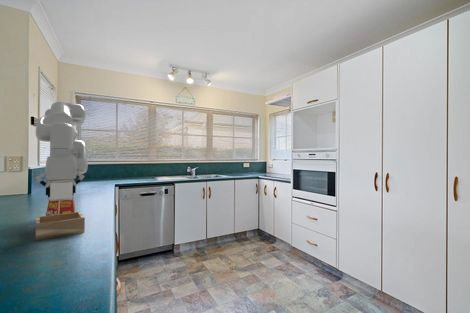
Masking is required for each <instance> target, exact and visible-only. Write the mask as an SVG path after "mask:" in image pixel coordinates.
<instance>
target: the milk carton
mask: <svg viewBox="0 0 470 313" xmlns="http://www.w3.org/2000/svg"><path fill="white" fill-rule="evenodd" d="M74 195H75V194H74ZM74 195H73V197H72V199H70V200H59V201H50V199H49V202H48V201H47V207H46V211H45V215H46V216H50V215H58V214H66V213H74V212H77V211H76V204H75V202H76V200H75V197H74Z"/></svg>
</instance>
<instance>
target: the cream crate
mask: <svg viewBox="0 0 470 313" xmlns="http://www.w3.org/2000/svg"><path fill="white" fill-rule="evenodd" d="M72 197H73V182H71V181H52V182H51V183H50V201H59V200H70V199H72Z"/></svg>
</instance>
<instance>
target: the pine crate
mask: <svg viewBox="0 0 470 313" xmlns="http://www.w3.org/2000/svg"><path fill="white" fill-rule="evenodd" d="M85 220H86V218H85V215H83V213H82V212H81V211H76V212H74V213H66V214H58V215H50V216H45V215H44V216H36V219H35V242H37V241H44V240H49V239H55V238H60V237H66V236H72V235H78V234H84V233H86V232H85V223H86V222H85Z"/></svg>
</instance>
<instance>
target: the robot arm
mask: <svg viewBox="0 0 470 313" xmlns="http://www.w3.org/2000/svg"><path fill="white" fill-rule="evenodd" d="M85 118H86V109H85V107H84V106H83V105H81V104H79V103H72V102H66V101H56V102H53V103H52V104H51V105H50V108H49V109H46V110H45V112H44V115H43V116H41V117H39V119H38V120H37V121H36V125H35V136H36V138H37V140H39V141H40V142H49V156H47V157H46V161H45V169H44V170H45V171H43V172H42V173H40V174H39V175H37V176H36V177H35V179H34V180H36V181H37V182H38V184H39V183H40V184H41V185H42V186H43V187H45V196H47V203H48V202H49V199H50V183H51V182H52V181H71V182H73V195H75V194H76V192H77V191H76V190H77V189H76V186H77V185H79V183H81V181H82V180H83V179H84V178H85V175H84V174H85V173H87V171H88V166H89V164H88V148H87V144H86V143H85V142H84V141H83V140H81V139H79V140H78V134H79V133H78V130H77V129H76V126H77V127H78V126H82V125H83V124H84V122H85ZM74 126H75V127H74ZM77 176H78V178H77ZM42 178H44V179H45V180H46V181H44V180H43V179H42ZM75 179H76V180H75ZM44 216H46V214H45V215H44Z"/></svg>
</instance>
